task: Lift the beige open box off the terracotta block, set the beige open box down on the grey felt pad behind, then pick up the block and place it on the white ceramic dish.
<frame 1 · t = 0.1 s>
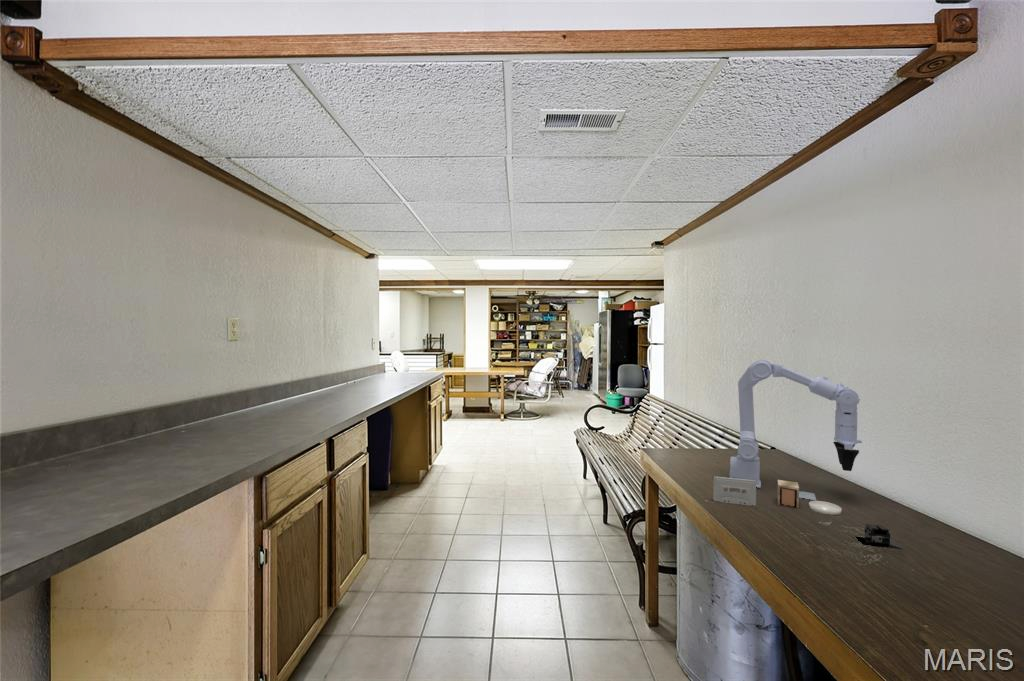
hand: (845, 467, 142), 10 cm above the table, tool pointing down, fingers open, 7 cm apart
dish: (824, 509, 133), on the table
block: (787, 495, 138), in the beige open box
pad: (802, 495, 145), on the table
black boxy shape: (876, 545, 112), on the table
beige open box: (787, 503, 138), on the table
cassette: (734, 503, 138), on the table
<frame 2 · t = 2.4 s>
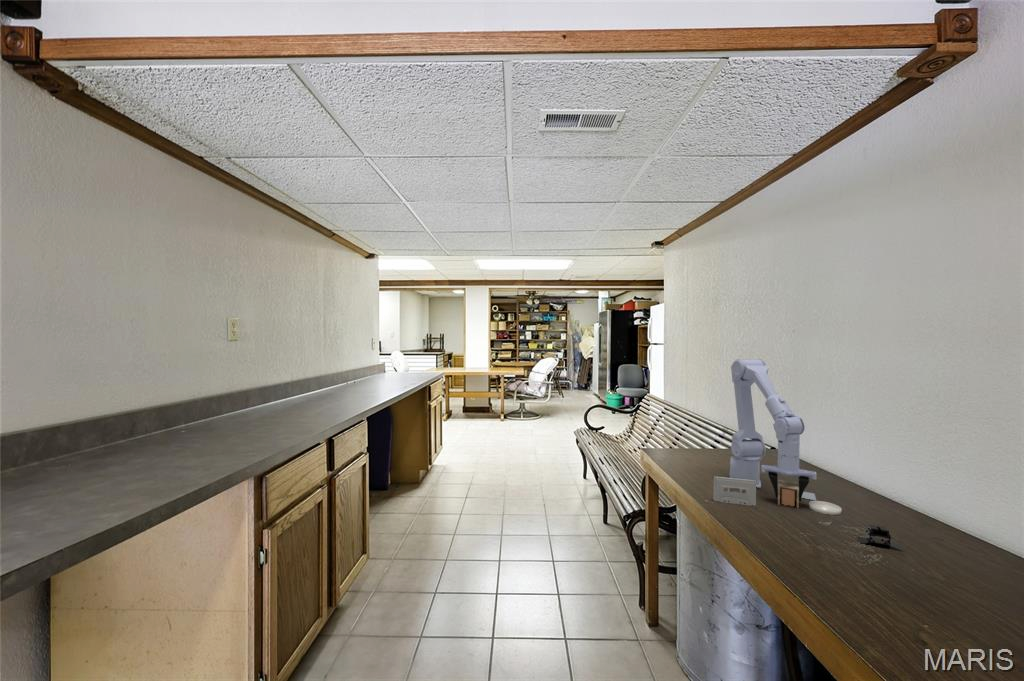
hand: (787, 498, 138), 2 cm above the table, tool pointing down, fingers closed on beige open box, 5 cm apart
beige open box: (787, 503, 138), on the table, touching gripper
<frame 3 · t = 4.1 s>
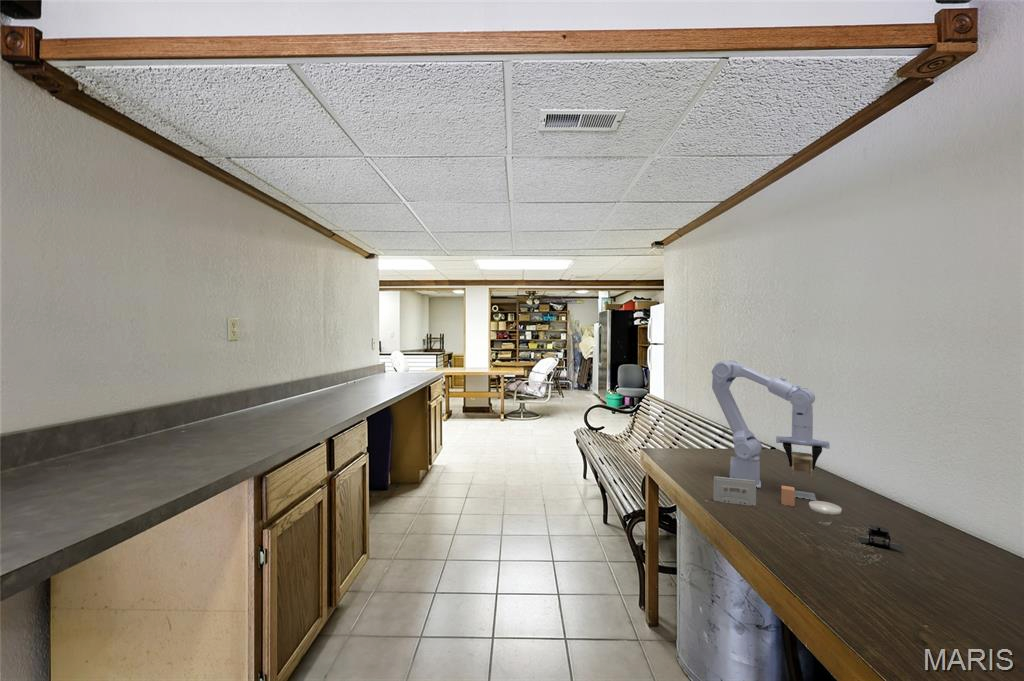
hand: (801, 467, 144), 9 cm above the table, tool pointing down, fingers closed on beige open box, 5 cm apart
beige open box: (801, 473, 144), point 7 cm above the table, touching gripper
when the fingers open (3 cm above the table, at t = 5.8 s): beige open box stays where it is, resting on pad.
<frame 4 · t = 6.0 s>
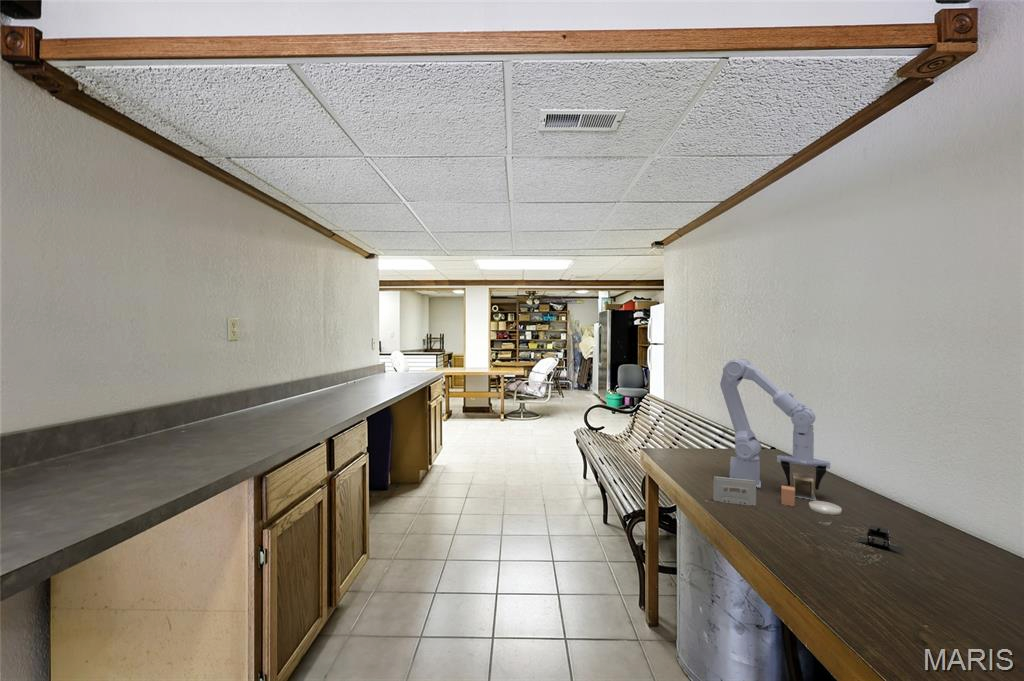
hand: (802, 486, 145), 3 cm above the table, tool pointing down, fingers open, 7 cm apart
beige open box: (802, 495, 145), resting on pad
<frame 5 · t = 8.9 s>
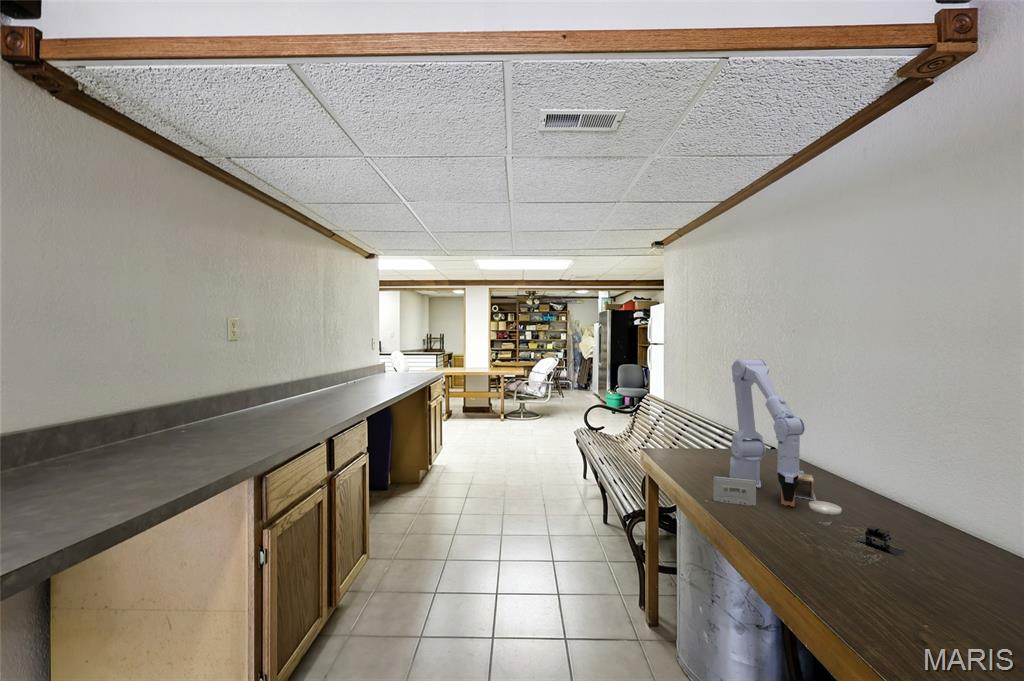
hand: (787, 499, 138), 1 cm above the table, tool pointing down, fingers closed on block, 3 cm apart
block: (787, 495, 138), on the table, touching gripper
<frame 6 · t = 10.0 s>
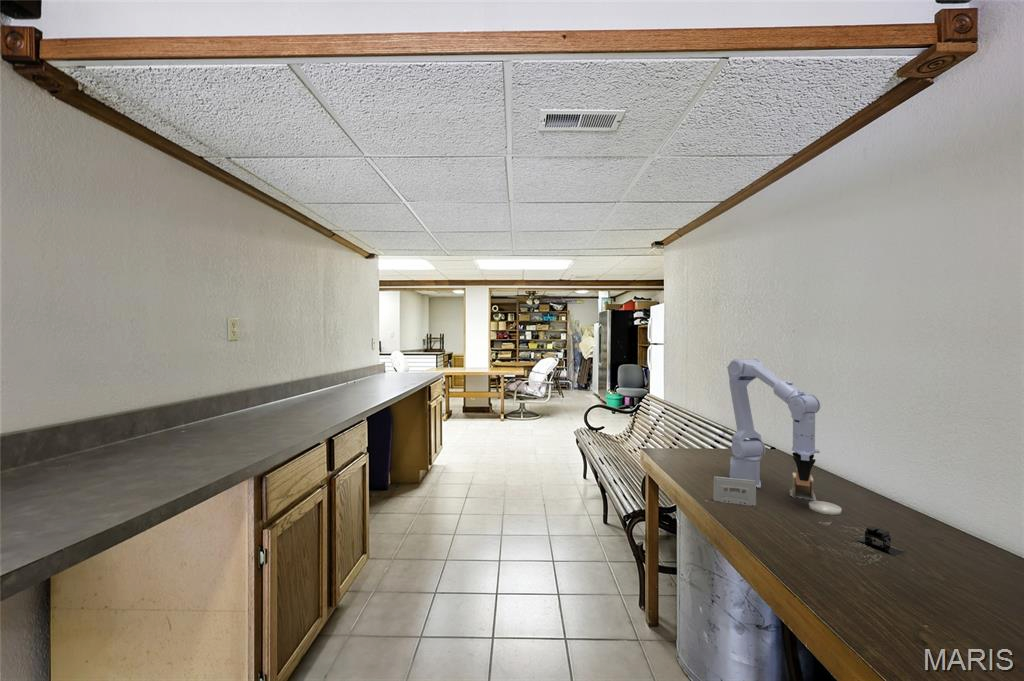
hand: (803, 478, 136), 9 cm above the table, tool pointing down, fingers closed on block, 3 cm apart
block: (803, 475, 136), point 9 cm above the table, touching gripper
when the fingers open (4 cm above the table, at t = 11.5 s): block stays where it is, resting on dish.
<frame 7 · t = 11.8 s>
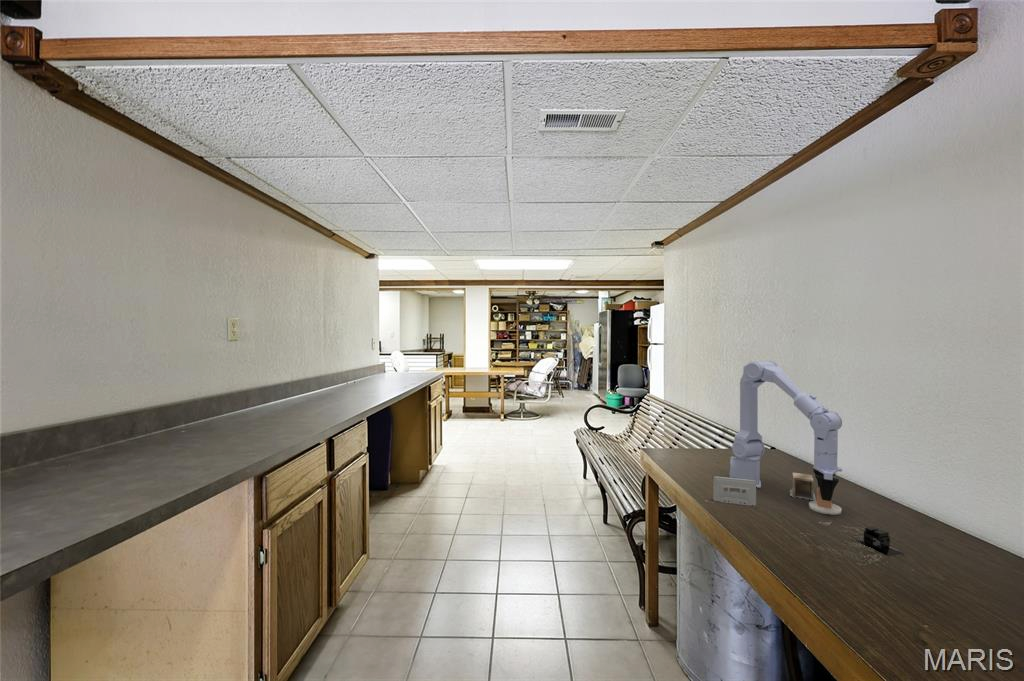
hand: (825, 497, 133), 4 cm above the table, tool pointing down, fingers open, 5 cm apart
block: (824, 497, 133), on the dish, point 4 cm above the table
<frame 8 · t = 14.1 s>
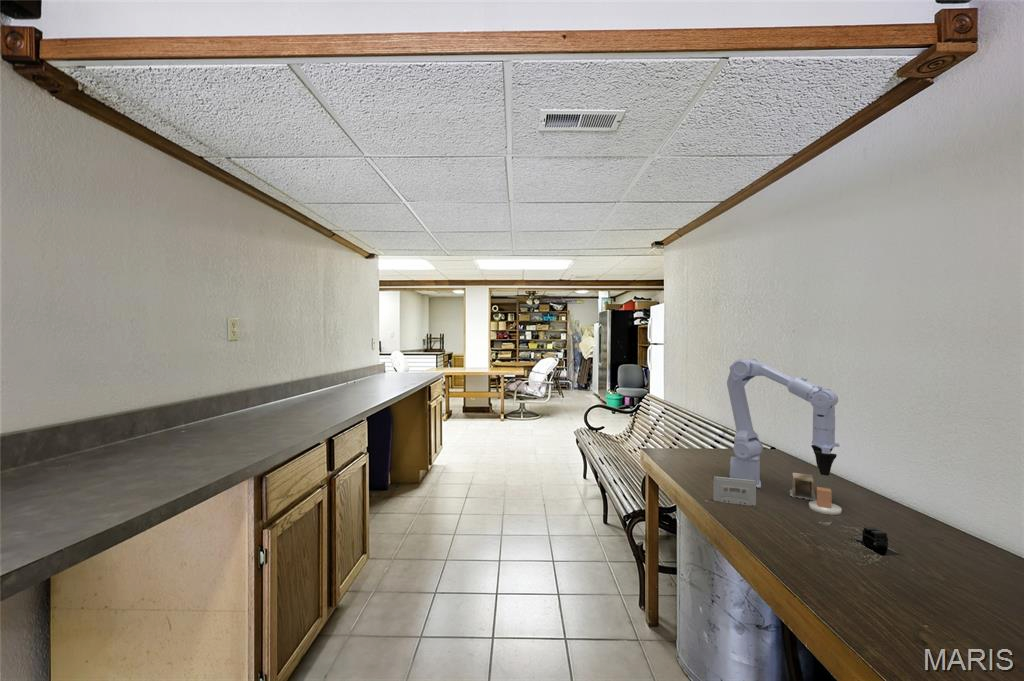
hand: (823, 471, 138), 10 cm above the table, tool pointing down, fingers open, 7 cm apart
at the end: block 0.3 cm off-centre on the dish, point 3.7 cm above the dish's base; block tilted 0°; beige open box 0.4 cm from the pad (horizontally) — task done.
